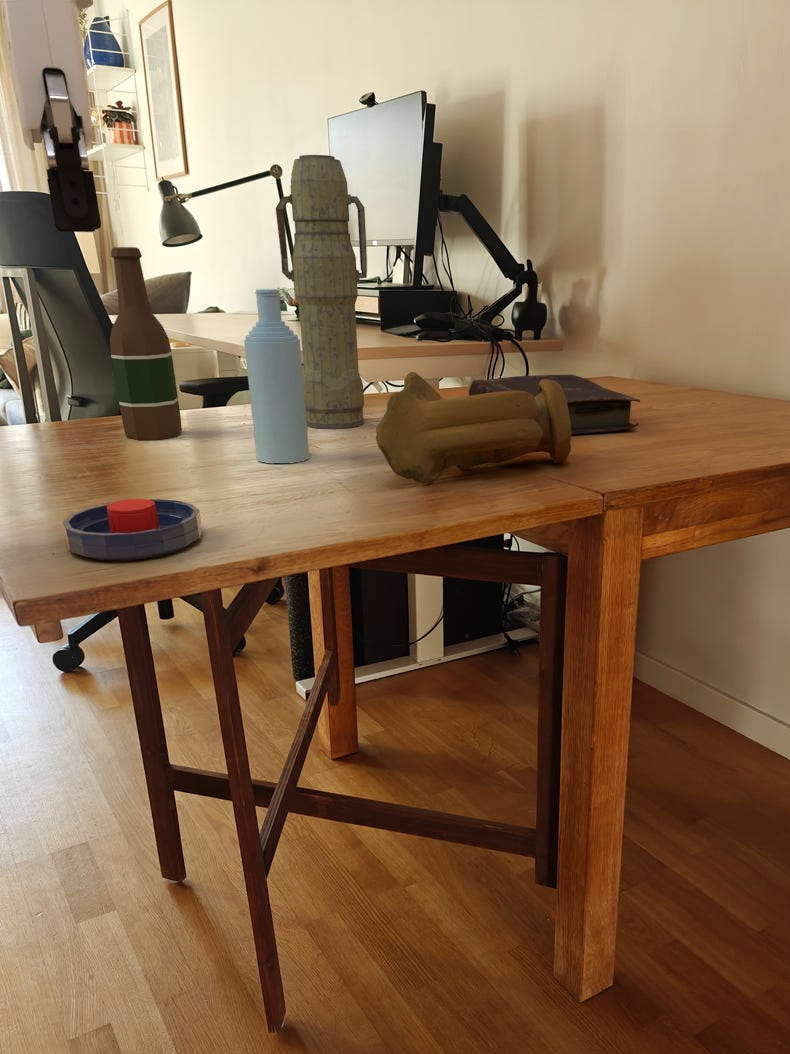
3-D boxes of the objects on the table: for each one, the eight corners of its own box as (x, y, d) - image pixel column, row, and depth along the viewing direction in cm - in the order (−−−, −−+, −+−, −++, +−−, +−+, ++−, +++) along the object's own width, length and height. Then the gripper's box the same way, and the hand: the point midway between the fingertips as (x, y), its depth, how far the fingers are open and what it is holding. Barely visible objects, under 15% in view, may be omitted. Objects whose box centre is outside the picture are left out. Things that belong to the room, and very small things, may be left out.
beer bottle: (189, 437, 119) (162, 247, 110) (130, 442, 116) (97, 246, 106) (177, 428, 126) (150, 247, 116) (120, 433, 122) (88, 247, 112)
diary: (520, 439, 118) (520, 401, 116) (468, 410, 140) (468, 378, 138) (643, 431, 123) (646, 395, 121) (574, 404, 145) (576, 373, 143)
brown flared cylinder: (373, 393, 107) (547, 360, 107) (394, 497, 108) (565, 464, 109) (360, 362, 88) (570, 322, 89) (385, 488, 90) (591, 448, 90)
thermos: (291, 420, 131) (268, 158, 117) (368, 416, 134) (355, 161, 120) (297, 430, 124) (273, 151, 109) (378, 426, 127) (365, 154, 112)
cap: (167, 531, 77) (162, 498, 76) (149, 545, 74) (144, 511, 72) (124, 531, 77) (118, 498, 76) (104, 544, 74) (98, 510, 73)
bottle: (267, 466, 103) (249, 291, 95) (249, 456, 108) (231, 289, 100) (317, 460, 106) (303, 289, 98) (298, 451, 111) (284, 288, 103)
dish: (80, 572, 69) (74, 542, 68) (59, 537, 77) (54, 510, 76) (217, 549, 74) (213, 521, 73) (183, 519, 83) (180, 493, 82)
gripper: (-15, -3, 69) (29, 232, 76) (-32, -70, 55) (24, 227, 62) (86, 8, 72) (120, 233, 79) (94, -53, 58) (134, 228, 65)
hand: (78, 230), depth 71 cm, fingers open, 9 cm apart
